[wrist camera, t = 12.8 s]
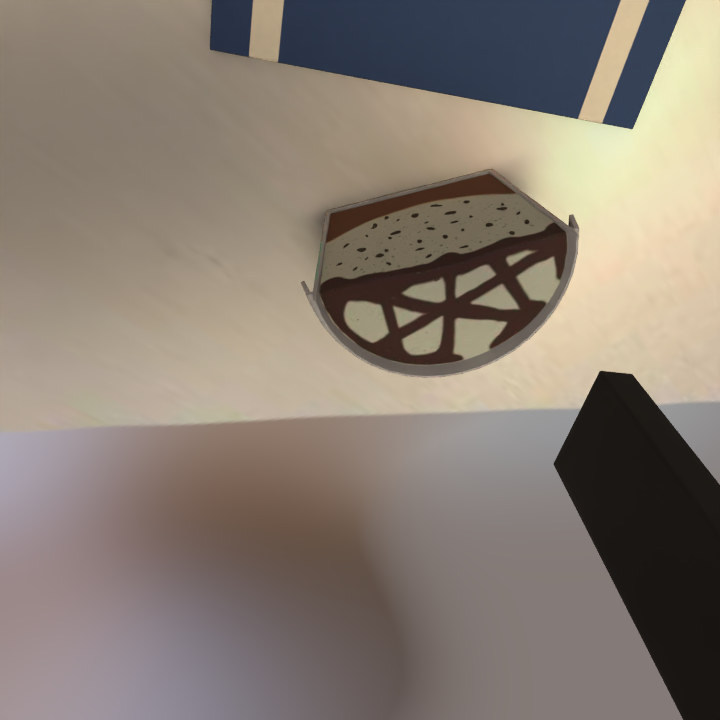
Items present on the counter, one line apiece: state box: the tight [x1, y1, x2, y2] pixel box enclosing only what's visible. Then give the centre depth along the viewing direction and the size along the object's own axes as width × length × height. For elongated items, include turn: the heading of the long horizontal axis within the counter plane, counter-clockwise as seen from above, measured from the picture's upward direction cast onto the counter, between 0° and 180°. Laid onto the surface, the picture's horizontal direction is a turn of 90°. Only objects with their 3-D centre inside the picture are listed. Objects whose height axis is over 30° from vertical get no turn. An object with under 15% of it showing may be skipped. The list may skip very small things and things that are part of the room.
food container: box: [301, 169, 579, 378], centre depth 31 cm, size 12×6×10 cm, turn 103°
